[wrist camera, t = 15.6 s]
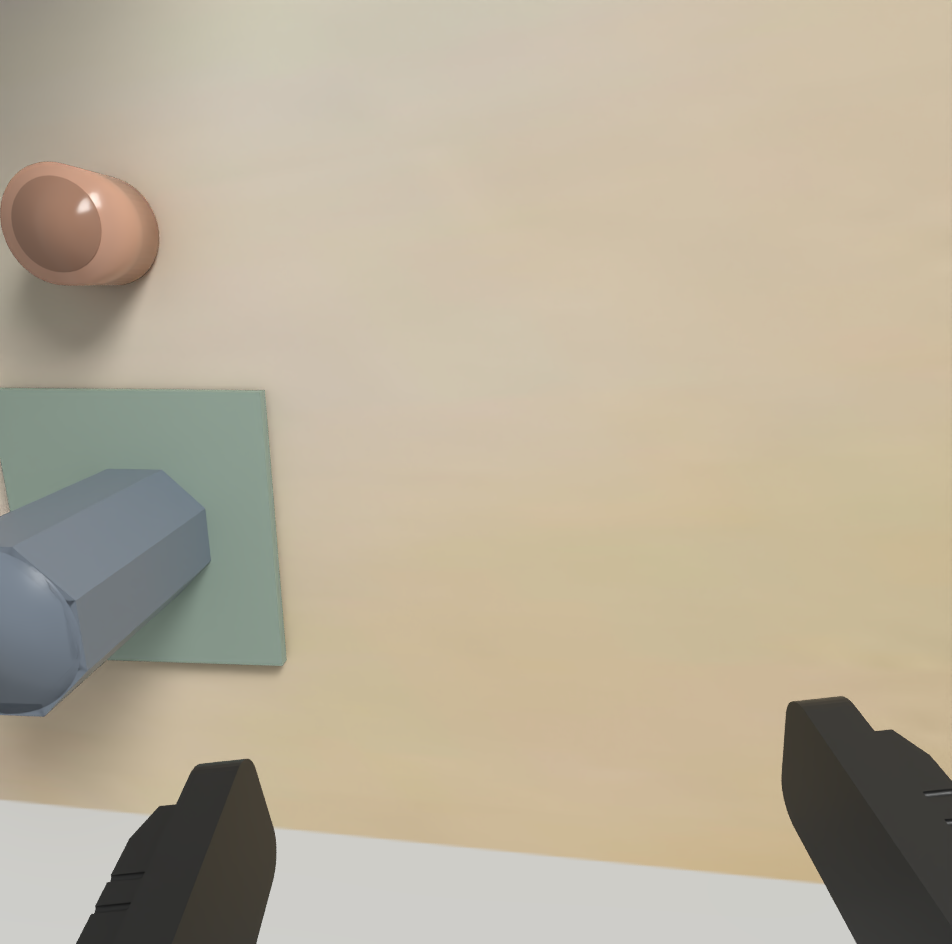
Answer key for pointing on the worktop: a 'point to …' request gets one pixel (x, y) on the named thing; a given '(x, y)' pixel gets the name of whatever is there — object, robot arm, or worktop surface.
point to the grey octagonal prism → (89, 578)
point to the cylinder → (78, 226)
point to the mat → (197, 471)
